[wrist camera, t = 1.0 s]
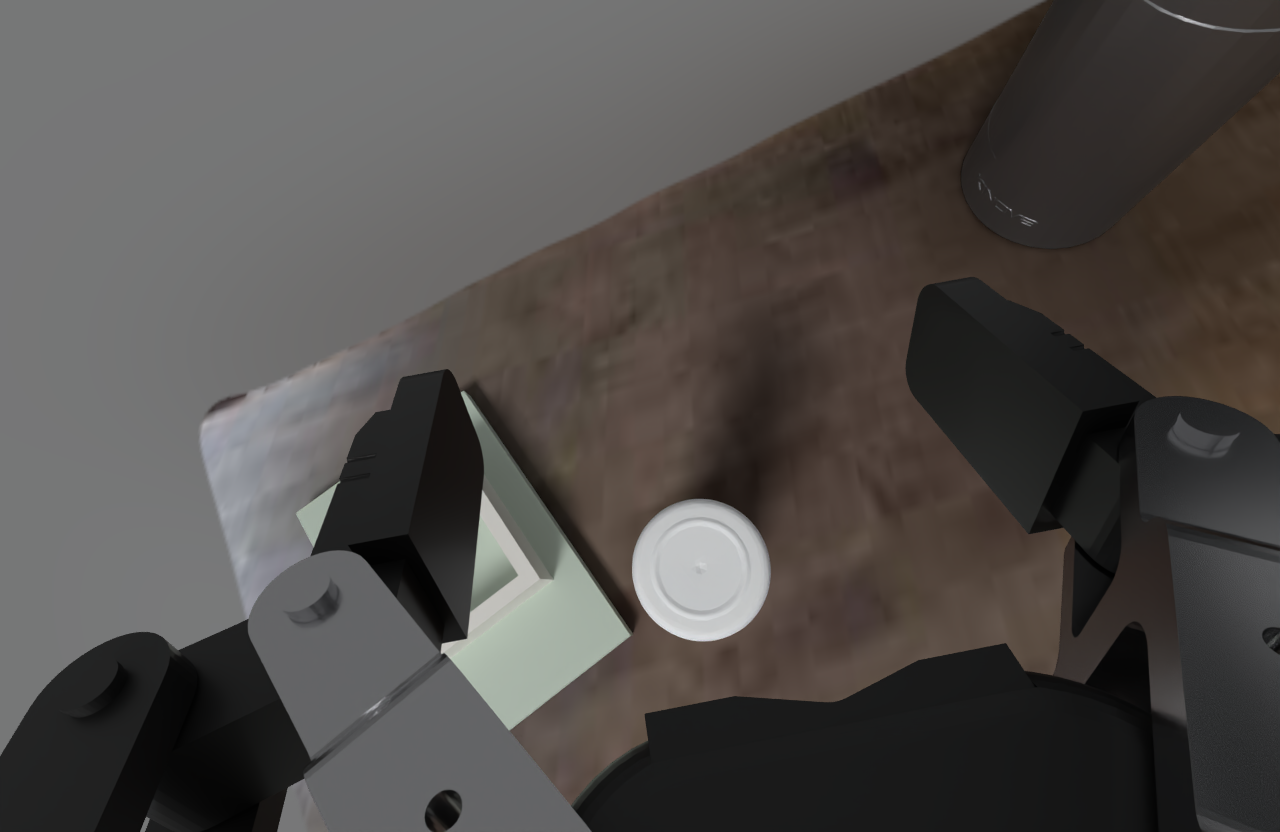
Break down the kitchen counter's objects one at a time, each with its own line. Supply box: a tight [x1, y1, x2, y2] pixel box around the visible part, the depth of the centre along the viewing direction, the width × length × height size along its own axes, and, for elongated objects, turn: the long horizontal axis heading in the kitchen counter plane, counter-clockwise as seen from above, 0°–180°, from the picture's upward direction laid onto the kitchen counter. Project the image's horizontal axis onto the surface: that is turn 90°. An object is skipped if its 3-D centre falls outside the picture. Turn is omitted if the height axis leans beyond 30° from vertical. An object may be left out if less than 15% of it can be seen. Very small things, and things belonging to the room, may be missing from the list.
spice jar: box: [632, 499, 771, 641], centre depth 26 cm, size 5×5×13 cm
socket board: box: [296, 391, 633, 731], centre depth 32 cm, size 12×17×4 cm
